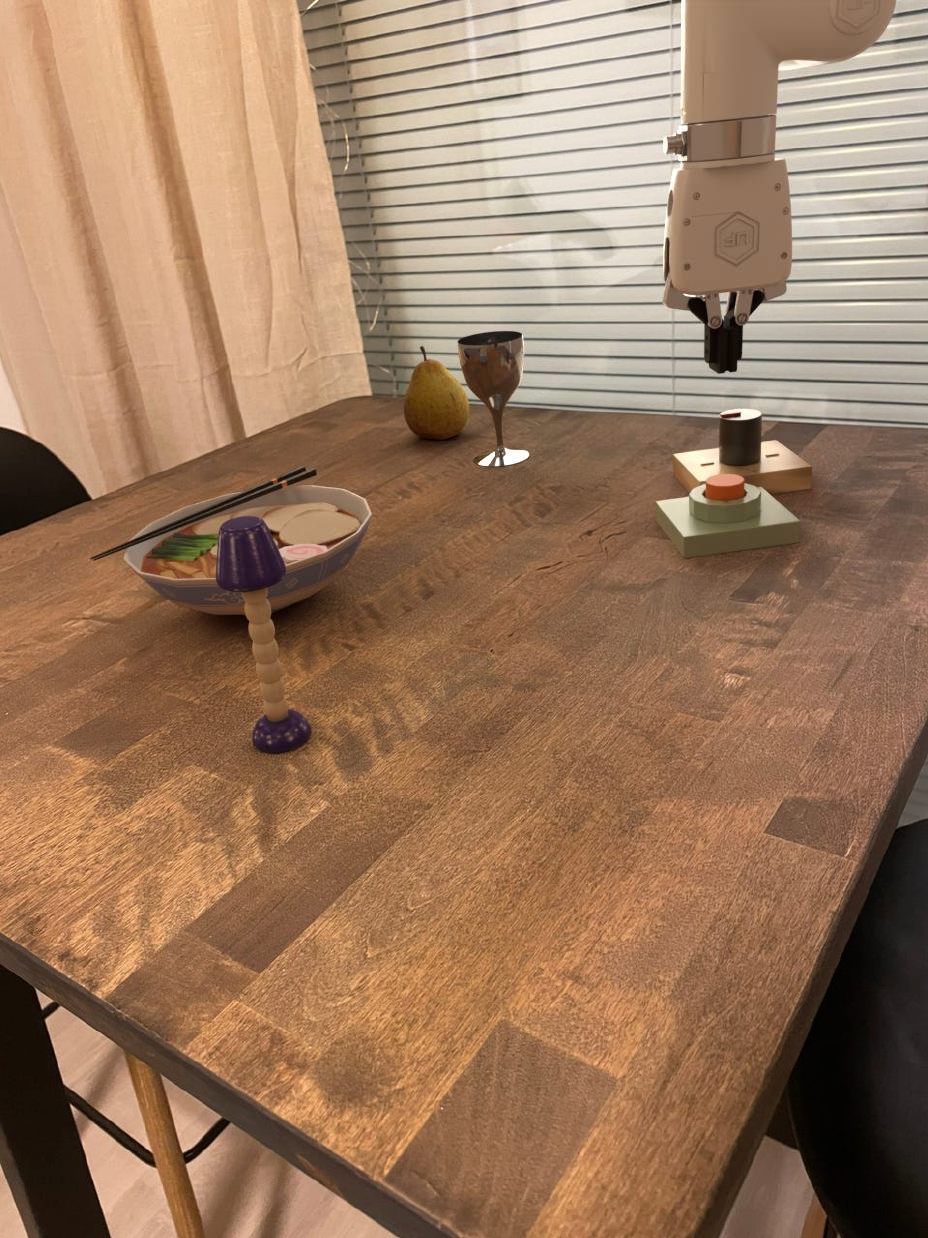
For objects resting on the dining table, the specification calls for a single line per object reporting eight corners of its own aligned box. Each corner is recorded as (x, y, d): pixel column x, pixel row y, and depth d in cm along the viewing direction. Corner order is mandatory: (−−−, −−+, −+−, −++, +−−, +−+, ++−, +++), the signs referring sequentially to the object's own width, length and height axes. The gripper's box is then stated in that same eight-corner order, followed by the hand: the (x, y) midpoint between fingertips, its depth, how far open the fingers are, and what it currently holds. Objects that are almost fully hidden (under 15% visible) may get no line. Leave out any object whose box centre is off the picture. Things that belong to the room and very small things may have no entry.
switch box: (761, 506, 99) (762, 469, 98) (799, 542, 91) (801, 502, 89) (655, 521, 99) (654, 484, 97) (683, 558, 90) (683, 518, 88)
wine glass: (529, 465, 120) (519, 342, 113) (466, 469, 121) (452, 347, 114) (535, 445, 127) (525, 328, 120) (475, 449, 128) (462, 333, 121)
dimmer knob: (752, 450, 108) (753, 403, 105) (766, 462, 104) (768, 413, 101) (713, 456, 107) (713, 409, 105) (726, 468, 103) (727, 419, 101)
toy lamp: (297, 711, 73) (252, 504, 66) (332, 733, 70) (288, 518, 63) (242, 739, 71) (188, 527, 63) (275, 763, 68) (223, 542, 60)
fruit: (464, 443, 131) (453, 353, 126) (400, 445, 134) (387, 357, 128) (478, 424, 139) (468, 339, 133) (417, 427, 141) (406, 343, 136)
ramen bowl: (221, 691, 78) (197, 599, 74) (89, 621, 93) (63, 542, 89) (441, 576, 93) (430, 495, 89) (297, 532, 108) (282, 461, 104)
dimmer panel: (775, 460, 111) (776, 438, 110) (811, 488, 102) (812, 464, 101) (672, 474, 111) (672, 452, 110) (699, 504, 102) (699, 480, 101)
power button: (736, 488, 95) (737, 471, 94) (749, 500, 92) (750, 483, 91) (700, 493, 95) (700, 476, 94) (712, 505, 92) (712, 488, 91)
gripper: (649, 155, 76) (652, 389, 84) (836, 134, 76) (820, 368, 85) (626, 154, 83) (631, 370, 91) (798, 135, 83) (787, 352, 91)
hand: (722, 369), depth 88 cm, fingers closed
